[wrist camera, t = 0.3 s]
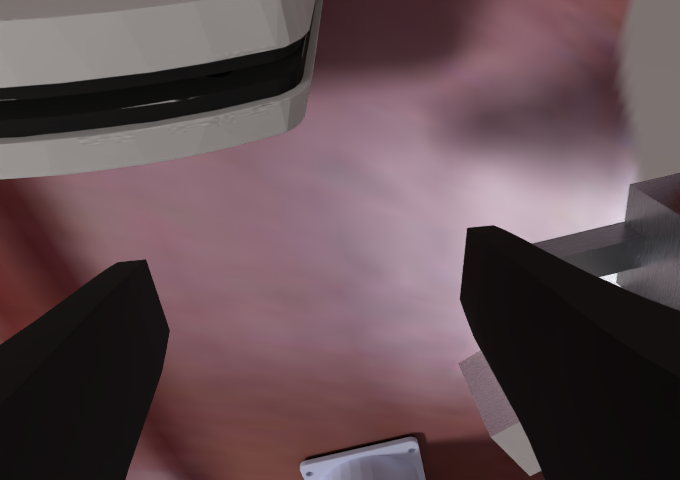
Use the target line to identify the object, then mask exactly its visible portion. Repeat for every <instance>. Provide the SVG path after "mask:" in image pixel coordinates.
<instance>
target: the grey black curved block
mask: <svg viewBox="0 0 680 480" xmlns="http://www.w3.org/2000/svg"><path fill="white" fill-rule="evenodd" d="M322 5H323V0H0V179H11V178H25V177H40V176H54V175H66V174H74V173H83V172H91V171H100V170H108V169H115V168H122V167H130V166H137V165H144V164H151V163H156V162H161V161H167V160H172V159H178V158H183V157H189V156H194V155H199V154H203V153H208V152H212V151H216V150H221V149H225V148H229V147H233V146H238V145H242V144H246V143H249V142H253V141H257V140H260V139H264V138H267V137H271V136H275V135H278V134H282V133H285V132H287V131H289V130H291V129H293V128H295V127H296V126H297V125H298V124H299V123H301V121H302V120H303V118H304V116H305V111H306V106H307V101H308V97H309V92H310V87H311V82H312V77H313V70H314V63H315V55H316V48H317V41H318V34H319V26H320V19H321V12H322Z"/></svg>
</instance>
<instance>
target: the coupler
mask: <svg viewBox="0 0 680 480" xmlns="http://www.w3.org/2000/svg"><path fill="white" fill-rule="evenodd" d="M533 245H535V246H537V247H539V248H541V249H543V250H545V251H546V252H548V253H550V254H552V255H554V256H556V257H558V258H560V259H562V260H564V261H566V262H568V263H570V264H572V265H574V266H576V267H578V268H580V269H582V270H584V271H586V272H588V273H590V274H592V275H594V276H597V277H601V276H605V275H610V274H614V273H618V275H617V283H618V284H619V285H620V286H621V287H622V288H623V289H625V290H628V291H630V292H633V293H635V294H637V295H640V296H642V297H645V298H647V299H650V300H652V301H655V302H658V303H660V304H663V305H666V306H668V307H671V308H674V309H676V310H679V311H680V173H677V174H673V175H670V176H665V177H661V178H657V179H652V180H648V181H644V182H640V183H636V184H632V185H630V189H629V196H628V203H627V210H626V218H625V222H623V223H619V224H615V225H611V226H607V227H602V228H598V229H594V230H590V231H586V232H581V233H577V234H573V235H569V236H565V237H560V238H556V239H552V240H548V241H544V242H539V243H535V244H533Z"/></svg>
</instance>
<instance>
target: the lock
mask: <svg viewBox="0 0 680 480" xmlns="http://www.w3.org/2000/svg"><path fill="white" fill-rule="evenodd" d="M458 364H459V366H460V368H461V371H462V373H463V375H464V377H465V380H466V382H467V384H468V387H469V389H470V391H471V393H472V396H473V398H474V400H475V403H476V405H477V407H478V409H479V412H480V414H481V416H482V418H483V421H484V423H485V425H486V428H487V430H488V432H489V434H490V437H491V438H492V439H493V440H494V441H495V442H496V443H497V444H498V445H499V446H500V447H501V448H502V449H503V450H504V451H505V452H506V453H507V454H508V455H509V456H510V457H511V458H512V459H513V460H514V461H515V462H516V463H517V464H518V465H519V466H520V467H521V468H522V469H523V470H524V471H525V472H526V473H527V474H528V475H529V476H531V475H533V474H535V473H537V472H539V471H541V468H540V466H539V463H538V461H537V459H536V456H535V454H534V452H533V449H532V447H531V444H530V442H529V440H528V438H527V436H526V434H525V432H524V430H523V427H522V425H521V423H520V421H519V419H518V418H517V416H516V414H515V412H514V410H513V408H512V407H511V405H510V403H509V401H508V399H507V397H506V396H505V394H504V392H503V390H502V388H501V386H500V385H499V383H498V381H497V379H496V377H495V375H494V374H493V372H492V370H491V368H490V366H489V364H488V362H487V361H486V359H485V357H484V355H483V353H482V351H479V352H477V353H475V354H474V355H472V356H470V357H468V358H467V359H465V360H463V361H462V362H460V363H458Z"/></svg>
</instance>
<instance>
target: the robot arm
mask: <svg viewBox="0 0 680 480" xmlns="http://www.w3.org/2000/svg"><path fill="white" fill-rule="evenodd" d="M460 301H461V304H462V307H463V309H464V312H465V315H466V318H467V321H468V323H469V326H470V328H471V331H472V333H473V336H474V338H475V340H476V342H477V344H478V346H479V348H480V349H481V351H482V353H483V355H484V357H485V359H486V361H487V362H488V364H489V366H490V368H491V370H492V372H493V374H494V375H495V377H496V379H497V381H498V383H499V385H500V386H501V388H502V390H503V392H504V394H505V396H506V397H507V399H508V401H509V403H510V405H511V407H512V408H513V410H514V412H515V414H516V416H517V418H518V419H519V421H520V423H521V425H522V427H523V430H524V432H525V434H526V436H527V438H528V440H529V442H530V444H531V447H532V449H533V452H534V454H535V456H536V459H537V461H538V463H539V466H540V468H541V471H542V473H543V475H544V478H545V480H680V311H679V310H676V309H674V308H671V307H668V306H666V305H663V304H660V303H658V302H655V301H652V300H650V299H647V298H645V297H642V296H640V295H637V294H635V293H633V292H630V291H628V290H625V289H623V288H621V287H619V286H617V285H614V284H612V283H610V282H608V281H605V280H603V279H601V278H599V277H597V276H594V275H592V274H590V273H588V272H586V271H584V270H582V269H580V268H578V267H576V266H574V265H572V264H570V263H568V262H566V261H564V260H562V259H560V258H558V257H556V256H554V255H552V254H550V253H548V252H546V251H545V250H543V249H541V248H539V247H537V246H535V245H533V244H531V243H529V242H527V241H525V240H524V239H522V238H520V237H518V236H516V235H514V234H512V233H510V232H508V231H506V230H503V229H501V228H499V227H496V226H494V225H493V226H482V227H472V228H467V236H466V245H465V255H464V265H463V274H462V284H461V293H460ZM169 332H170V330H169V327H168V324H167V321H166V318H165V315H164V312H163V309H162V306H161V303H160V300H159V297H158V294H157V291H156V288H155V285H154V282H153V279H152V276H151V273H150V270H149V267H148V264H147V261H146V260H136V261H126V262H118V263H116V264H114V265H112V266H111V267H109V268H108V269H106V270H105V271H103V272H102V273H100V274H99V275H97V276H96V277H95V278H93V279H92V280H90V281H89V282H88V283H86V284H85V285H84V286H82V287H81V288H79V289H78V290H77V291H75V292H74V293H73V294H71V295H70V296H69V297H67V298H66V299H65V300H63V301H62V302H60V303H59V304H58V305H56V306H55V307H54V308H52V309H51V310H50V311H48V312H47V313H45V314H44V315H43V316H41V317H40V318H39V319H37V320H36V321H34V322H33V323H31V324H30V325H29V326H27V327H26V328H24V329H23V330H21V331H20V332H18V333H17V334H15V335H14V336H12V337H11V338H10V339H8V340H7V341H5V342H4V343H2V344H1V345H0V480H125V479H126V476H127V473H128V469H129V466H130V463H131V460H132V457H133V455H134V452H135V449H136V446H137V443H138V440H139V437H140V434H141V432H142V429H143V426H144V423H145V420H146V417H147V414H148V411H149V409H150V406H151V403H152V400H153V397H154V394H155V391H156V388H157V385H158V382H159V379H160V376H161V373H162V369H163V364H164V359H165V354H166V349H167V343H168V337H169ZM300 471H301V473H302V475H303V477H304V480H426V479H425V474H424V469H423V464H422V460H421V455H420V450H419V445H418V441H417V439H416V438H415V437H406V438H402V439H398V440H393V441H389V442H384V443H380V444H376V445H371V446H367V447H362V448H358V449H354V450H349V451H345V452H340V453H336V454H332V455H327V456H323V457H318V458H314V459H310V460H305V461H303V462H302V463H301V464H300Z"/></svg>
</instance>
